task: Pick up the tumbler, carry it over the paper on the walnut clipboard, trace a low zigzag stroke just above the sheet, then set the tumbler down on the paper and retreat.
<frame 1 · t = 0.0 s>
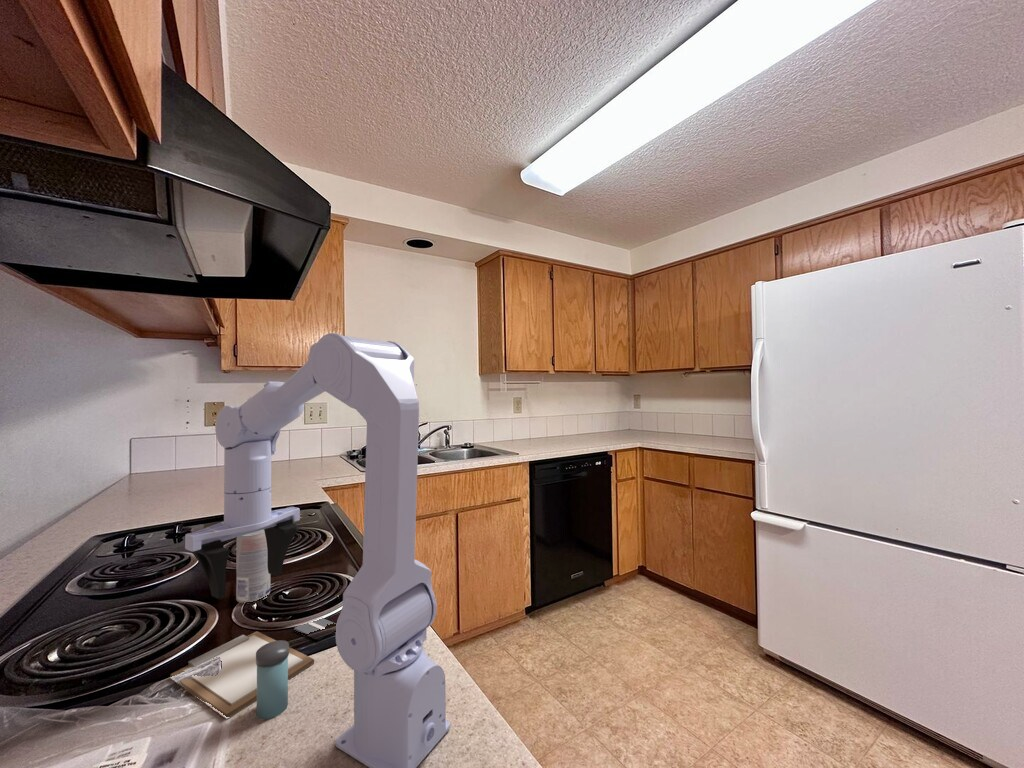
hand: (247, 584, 58), 10 cm above the countertop, fingers open, 7 cm apart
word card: (317, 629, 65), on the countertop
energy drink: (253, 597, 75), on the countertop
tumbler: (272, 708, 48), on the countertop
clipboard: (244, 671, 55), on the countertop
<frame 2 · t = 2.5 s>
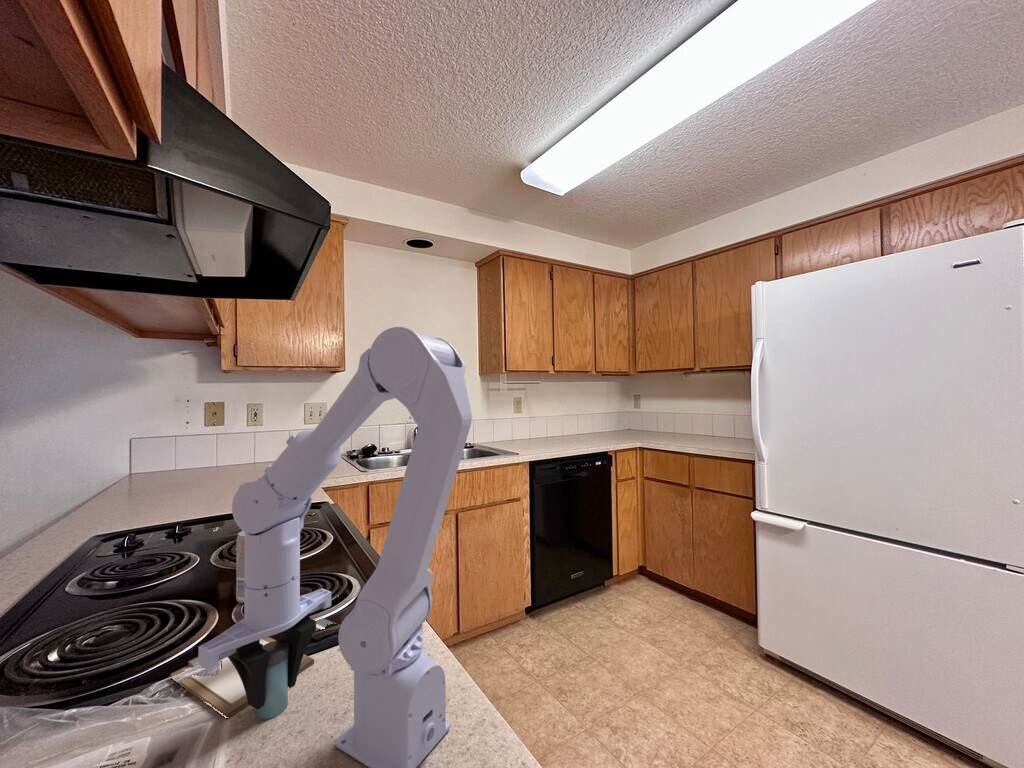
hand: (272, 693, 48), 2 cm above the countertop, fingers closed on tumbler, 3 cm apart
tumbler: (272, 708, 48), on the countertop, touching gripper
everything else where it was.
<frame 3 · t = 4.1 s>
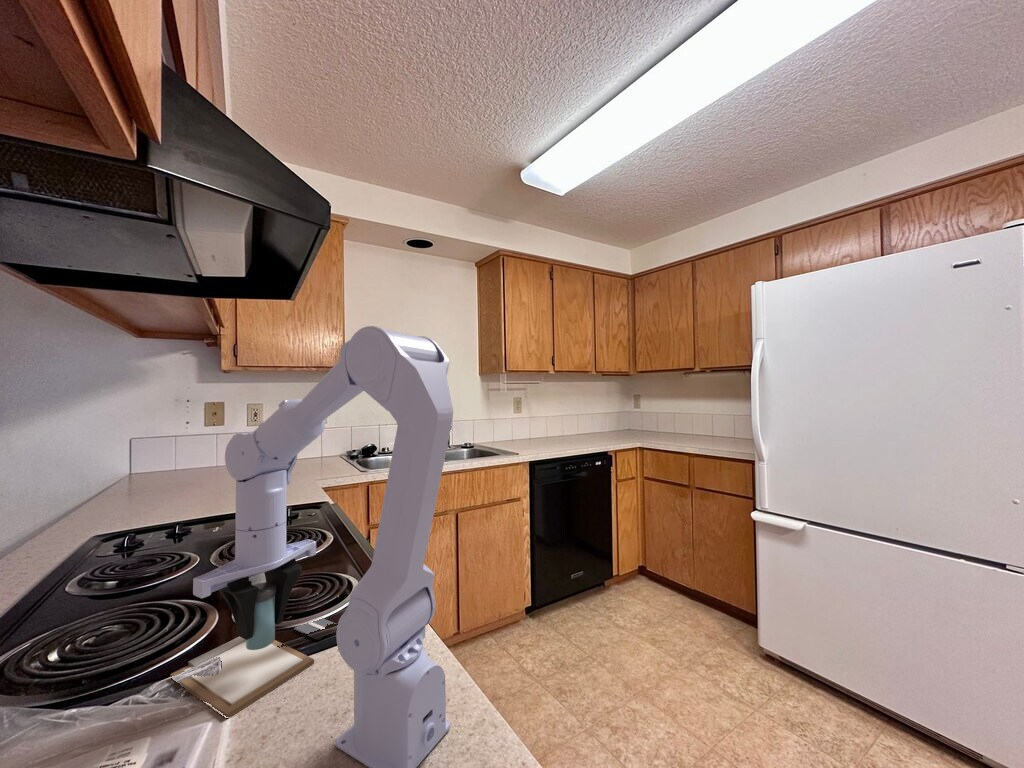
hand: (260, 628, 53), 7 cm above the countertop, fingers closed on tumbler, 3 cm apart
tumbler: (260, 642, 53), point 5 cm above the countertop, touching gripper
everything else where it was.
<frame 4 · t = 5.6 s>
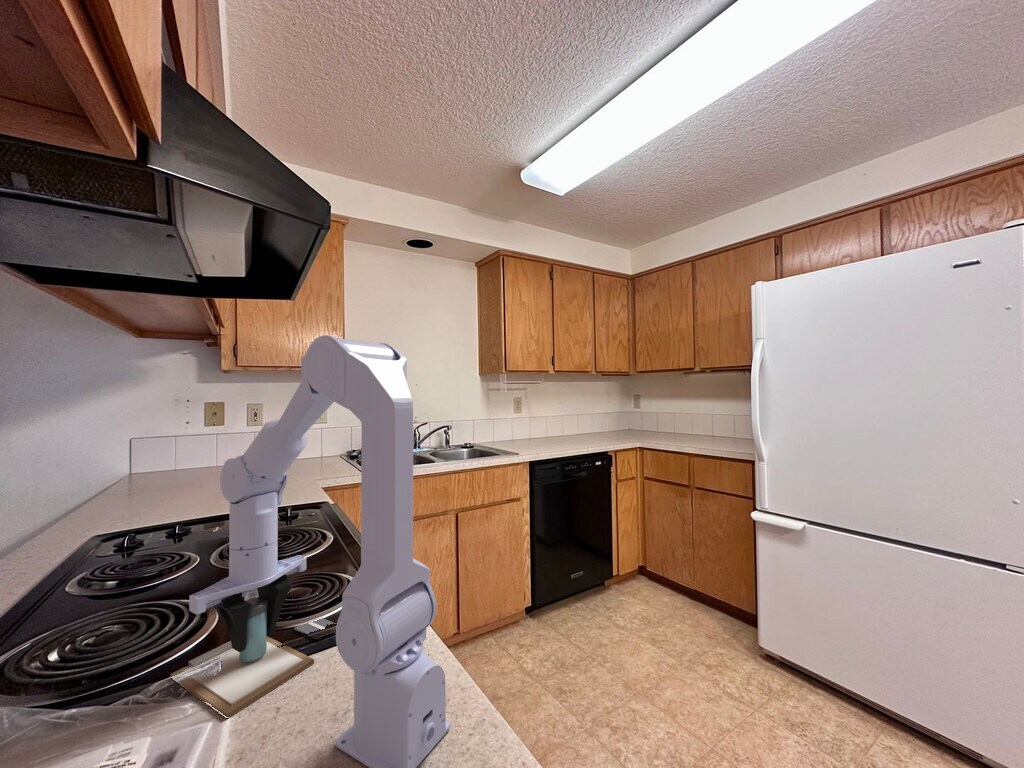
hand: (253, 641, 57), 3 cm above the countertop, fingers closed on tumbler, 3 cm apart
tumbler: (253, 654, 57), point 1 cm above the countertop, touching gripper
everything else where it was.
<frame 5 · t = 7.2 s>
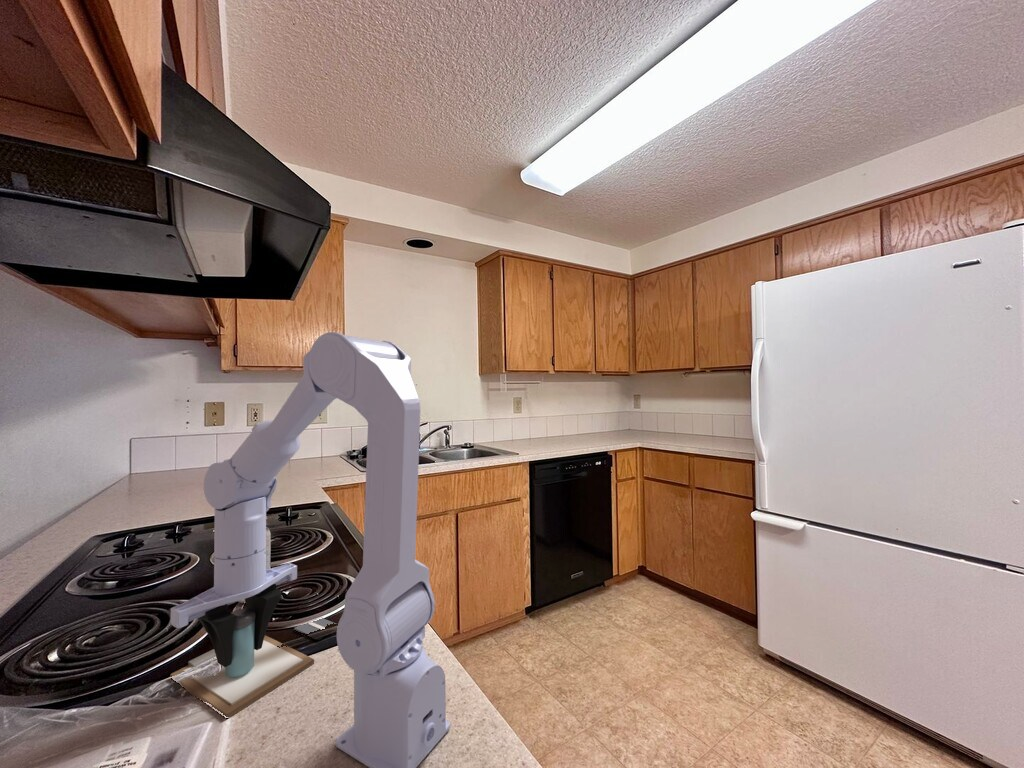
hand: (240, 654, 54), 3 cm above the countertop, fingers closed on tumbler, 3 cm apart
tumbler: (239, 668, 54), point 1 cm above the countertop, touching gripper
everything else where it was.
when the fingers open (3 cm above the countertop, at t = 8.6 s): tumbler stays where it is, resting on clipboard.
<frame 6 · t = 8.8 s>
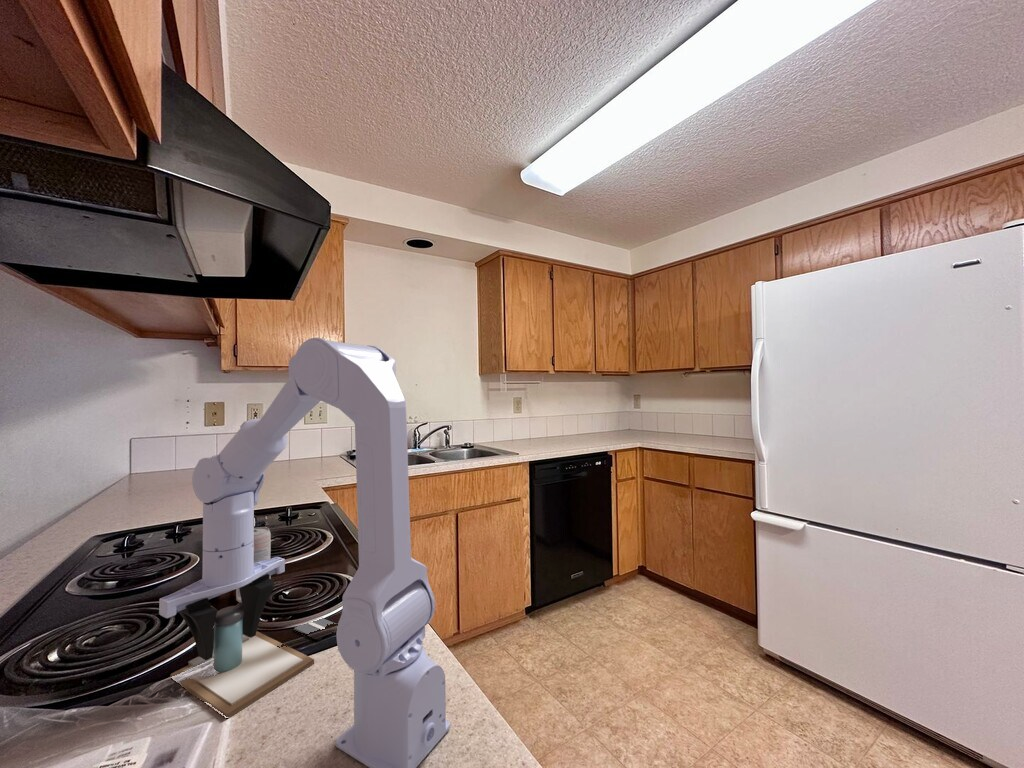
hand: (228, 645, 55), 3 cm above the countertop, fingers open, 5 cm apart
tumbler: (228, 664, 55), point 1 cm above the countertop, touching clipboard
everything else where it was.
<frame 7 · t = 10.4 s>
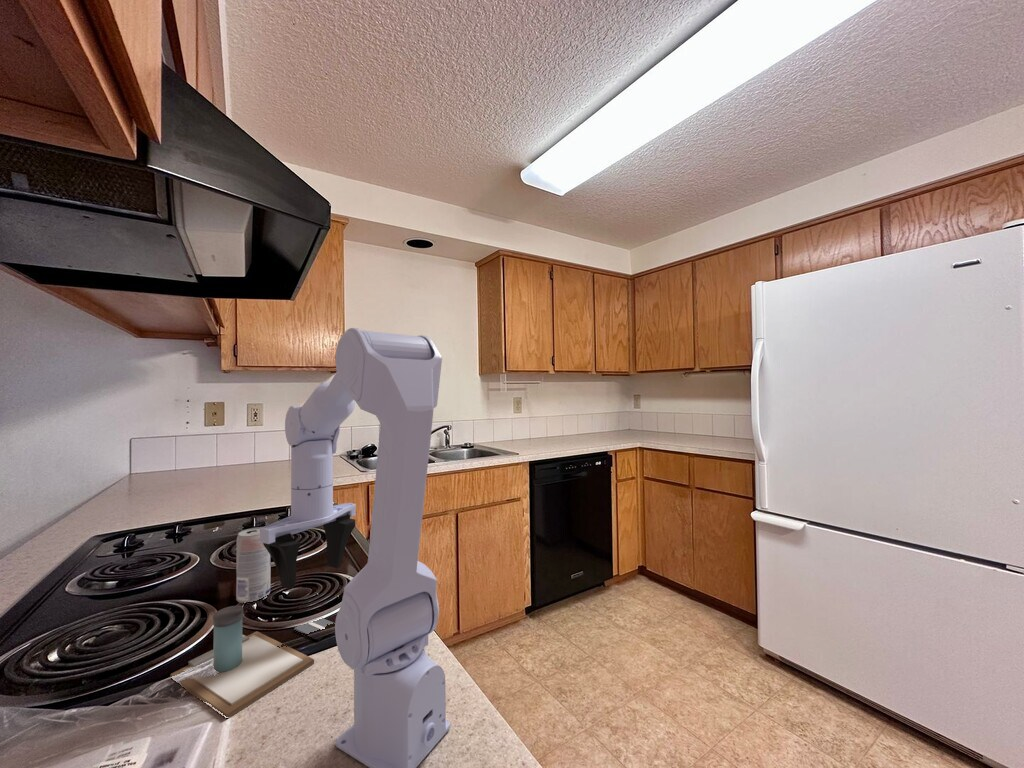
hand: (312, 576, 61), 10 cm above the countertop, fingers open, 7 cm apart
nothing on the countertop moved.
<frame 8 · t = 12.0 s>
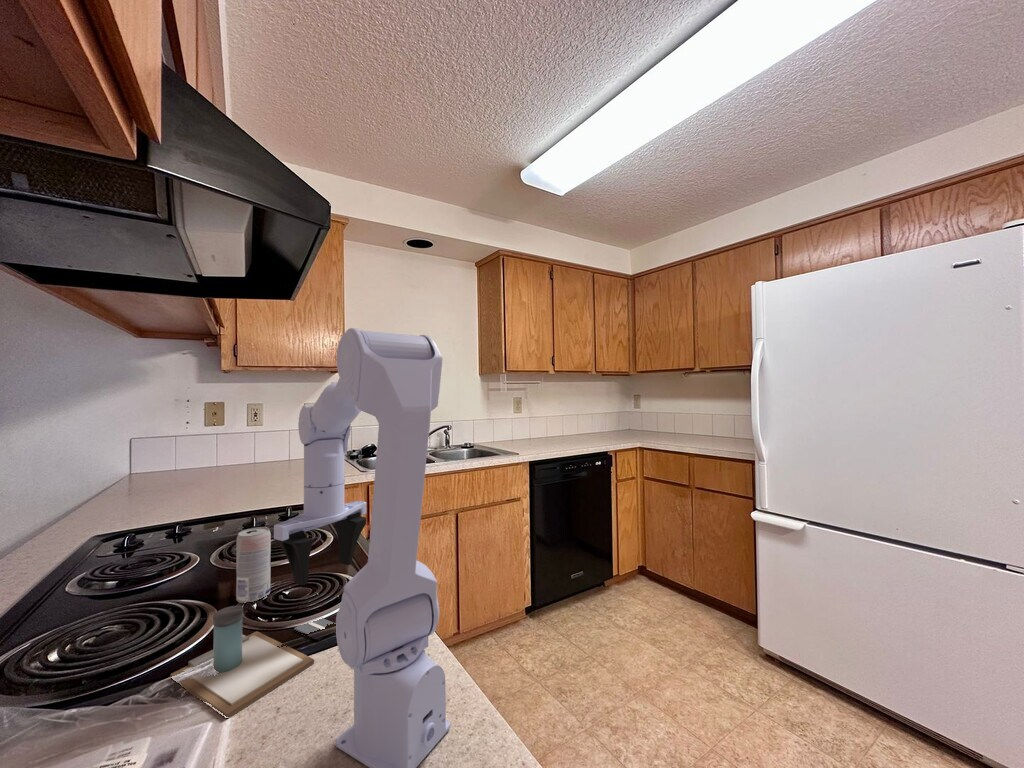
hand: (324, 572, 62), 10 cm above the countertop, fingers open, 7 cm apart
nothing on the countertop moved.
at the end: tumbler inside the target area on the clipboard (2.2 cm from its centre), point 0.8 cm above the clipboard's base; the gripper is holding nothing; tumbler moved 12.1 cm from its start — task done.
